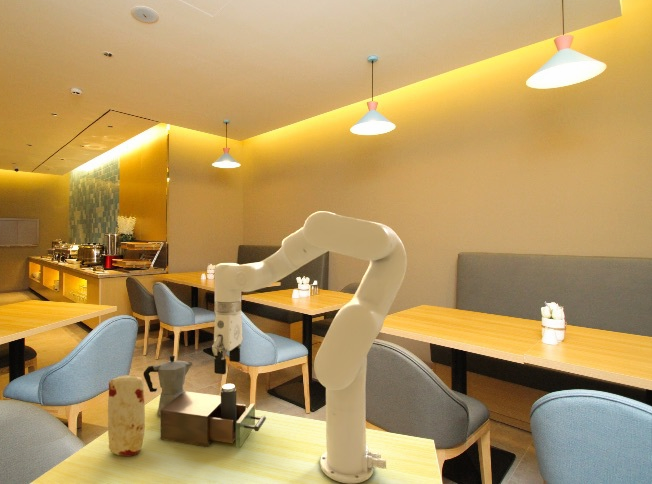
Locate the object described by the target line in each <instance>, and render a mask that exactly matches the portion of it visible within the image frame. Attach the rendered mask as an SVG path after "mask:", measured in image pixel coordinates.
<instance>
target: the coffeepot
mask: <svg viewBox="0 0 652 484" xmlns="http://www.w3.org/2000/svg"><path fill="white" fill-rule="evenodd" d="M175 359H176V356H175V355H169V360H168V361H164V362H160V363H159V364H155V365H149V366H147V367H146V369H145V370H144V371H143V377H144V380H145V382H146V385H147V387H148V390H149V392H150V393H156V392H157V391H158V387H155V388H154V387H153V382H152V380H151V374H150V373H157V374H158V380H159V388H161V393H160V396H159V403H158V409H157V415H158V416H160V410H161V409H162V408H163V407H165V406H166V405H167V404H169V403H170V402H171V401H173V400H174V399H175V398H177V397H178V396H179V395H180V394H182V393H183V392H184V391H185V389H184V385H185V382H186V375H187V374H188V373H189V370H190V368H191V367H192V366H193V365H194V364H193V362H192V361H184V360H177V359H176V360H175Z"/></svg>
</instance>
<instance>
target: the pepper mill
mask: <svg viewBox="0 0 652 484" xmlns="http://www.w3.org/2000/svg"><path fill="white" fill-rule="evenodd" d="M220 396H221V418H222V419H229V420H233V432H234V431H236V422H237V408H236V404H237V388H236V386H235V384H233V383H226V384H223V385H222V386H221V389H220Z"/></svg>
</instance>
